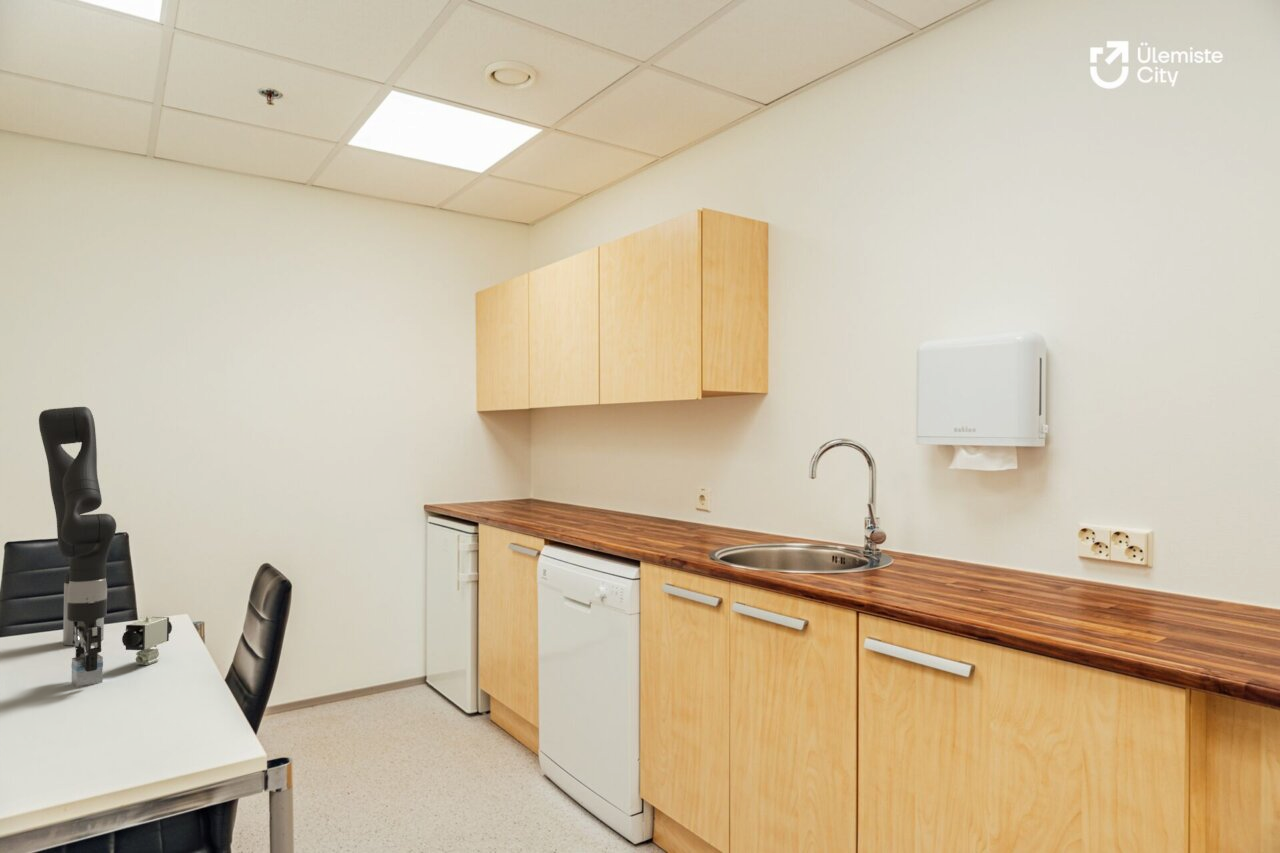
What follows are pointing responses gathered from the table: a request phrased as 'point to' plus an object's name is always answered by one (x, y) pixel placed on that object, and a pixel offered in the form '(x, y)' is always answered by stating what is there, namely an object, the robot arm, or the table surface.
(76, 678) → the grey box with knob
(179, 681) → the table surface
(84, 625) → the robot arm
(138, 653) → the pneumatic valve
